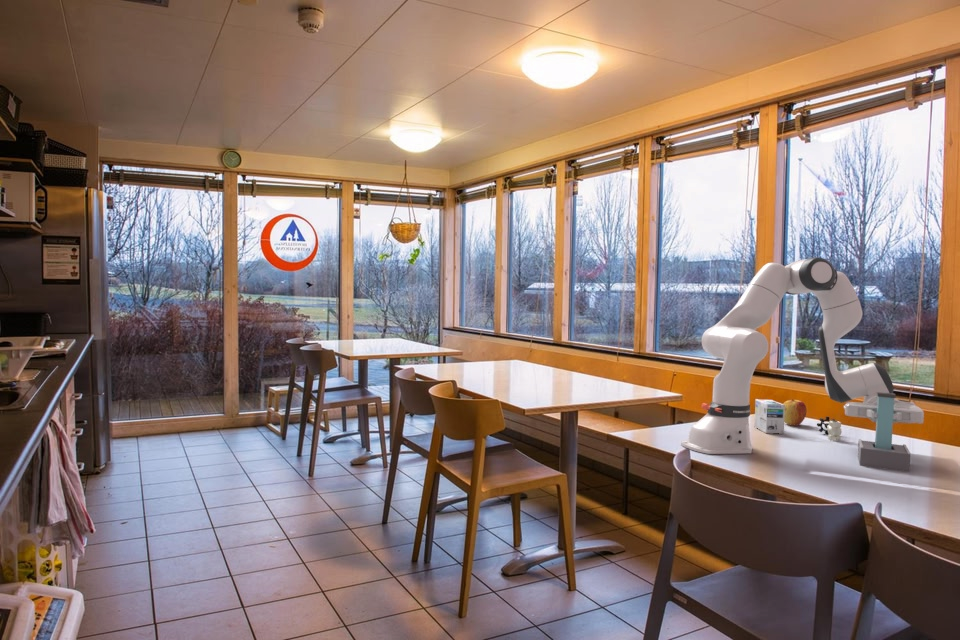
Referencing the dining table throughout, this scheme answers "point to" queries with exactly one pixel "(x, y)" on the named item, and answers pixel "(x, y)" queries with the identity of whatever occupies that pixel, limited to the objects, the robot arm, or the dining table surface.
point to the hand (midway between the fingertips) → (885, 416)
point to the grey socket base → (884, 456)
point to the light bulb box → (769, 416)
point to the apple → (794, 412)
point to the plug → (884, 420)
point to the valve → (831, 428)
